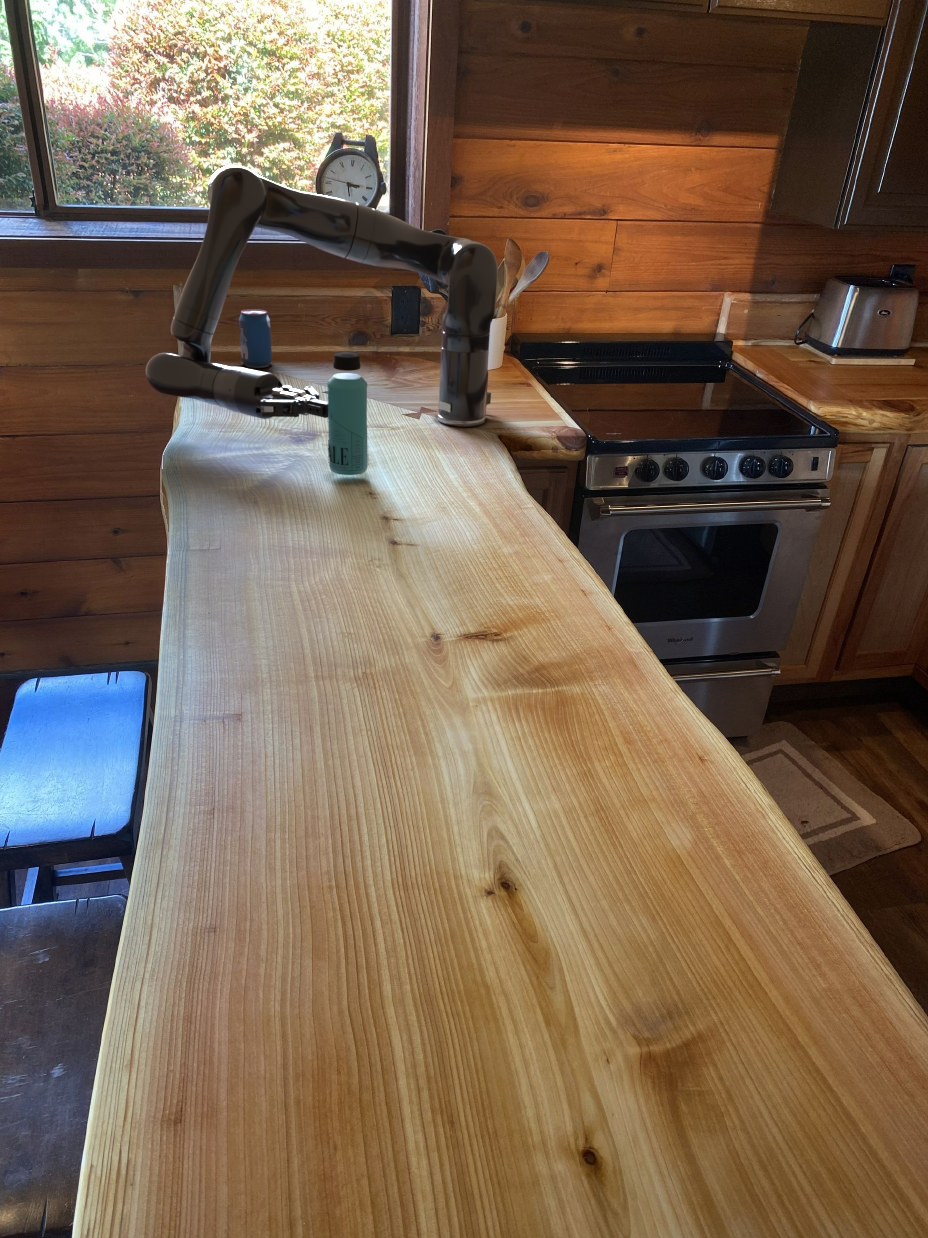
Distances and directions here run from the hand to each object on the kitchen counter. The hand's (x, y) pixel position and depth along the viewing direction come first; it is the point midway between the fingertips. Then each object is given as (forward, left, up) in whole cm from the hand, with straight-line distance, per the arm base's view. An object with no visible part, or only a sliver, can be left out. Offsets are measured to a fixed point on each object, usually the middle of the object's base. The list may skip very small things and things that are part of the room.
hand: (330, 410), depth 144 cm
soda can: (-48, -59, -11) cm, 76 cm away
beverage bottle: (0, +3, -11) cm, 11 cm away
